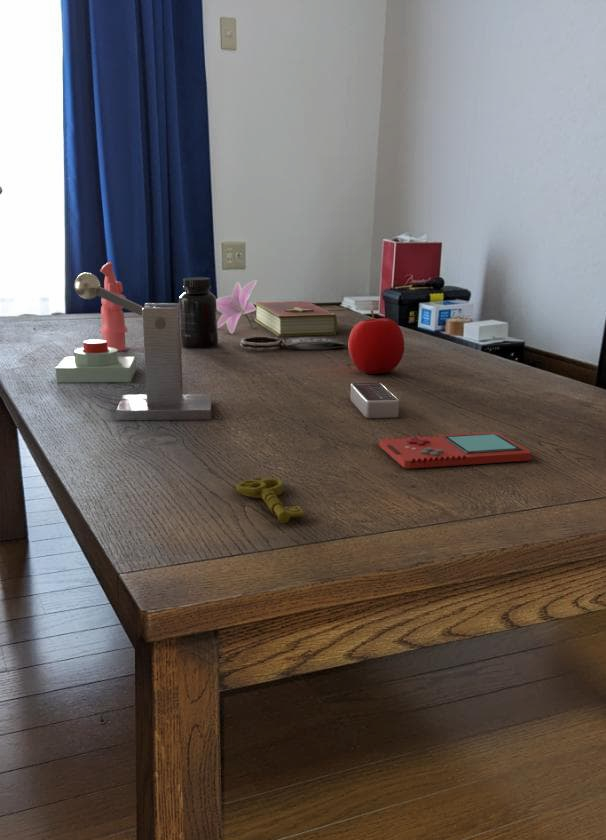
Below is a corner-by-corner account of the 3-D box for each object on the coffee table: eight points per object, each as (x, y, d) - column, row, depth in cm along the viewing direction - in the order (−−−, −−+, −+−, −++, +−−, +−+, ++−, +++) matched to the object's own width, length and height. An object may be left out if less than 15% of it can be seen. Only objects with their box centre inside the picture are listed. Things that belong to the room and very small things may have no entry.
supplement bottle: (197, 340, 170) (195, 275, 166) (225, 344, 167) (224, 277, 162) (173, 345, 165) (170, 278, 161) (200, 350, 162) (198, 281, 157)
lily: (214, 329, 190) (197, 290, 183) (265, 306, 190) (249, 266, 183) (227, 356, 181) (210, 317, 174) (280, 332, 181) (265, 292, 175)
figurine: (120, 352, 158) (114, 264, 153) (94, 350, 160) (88, 263, 154) (134, 348, 163) (129, 261, 157) (109, 346, 164) (103, 260, 159)
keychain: (347, 350, 163) (347, 339, 162) (242, 352, 160) (242, 341, 159) (338, 343, 170) (339, 332, 169) (238, 345, 167) (237, 334, 166)
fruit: (351, 365, 150) (353, 304, 146) (405, 368, 149) (409, 306, 145) (342, 376, 142) (344, 311, 138) (399, 379, 140) (403, 314, 136)
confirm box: (56, 382, 135) (54, 356, 134) (66, 370, 144) (64, 345, 142) (130, 382, 136) (128, 355, 135) (136, 370, 145) (134, 345, 143)
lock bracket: (116, 420, 115) (109, 310, 110) (124, 403, 123) (117, 301, 118) (210, 419, 116) (207, 310, 111) (211, 403, 124) (208, 301, 119)
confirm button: (82, 355, 137) (81, 343, 136) (85, 350, 140) (85, 339, 139) (106, 354, 137) (105, 343, 136) (109, 350, 140) (108, 339, 140)
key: (308, 509, 81) (253, 513, 80) (307, 522, 82) (254, 527, 80) (278, 472, 92) (230, 475, 91) (278, 484, 92) (230, 487, 91)
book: (307, 318, 198) (307, 299, 196) (336, 334, 179) (337, 312, 178) (254, 320, 195) (254, 300, 193) (278, 336, 176) (278, 314, 174)
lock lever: (68, 293, 112) (77, 269, 111) (72, 290, 114) (81, 267, 113) (166, 338, 114) (175, 315, 114) (167, 334, 117) (177, 311, 116)
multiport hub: (366, 418, 117) (366, 401, 117) (349, 399, 127) (350, 383, 127) (399, 417, 118) (399, 400, 117) (380, 398, 128) (380, 382, 127)
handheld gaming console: (378, 436, 105) (496, 429, 108) (378, 446, 105) (496, 439, 109) (405, 459, 97) (532, 451, 100) (405, 469, 97) (531, 461, 101)
